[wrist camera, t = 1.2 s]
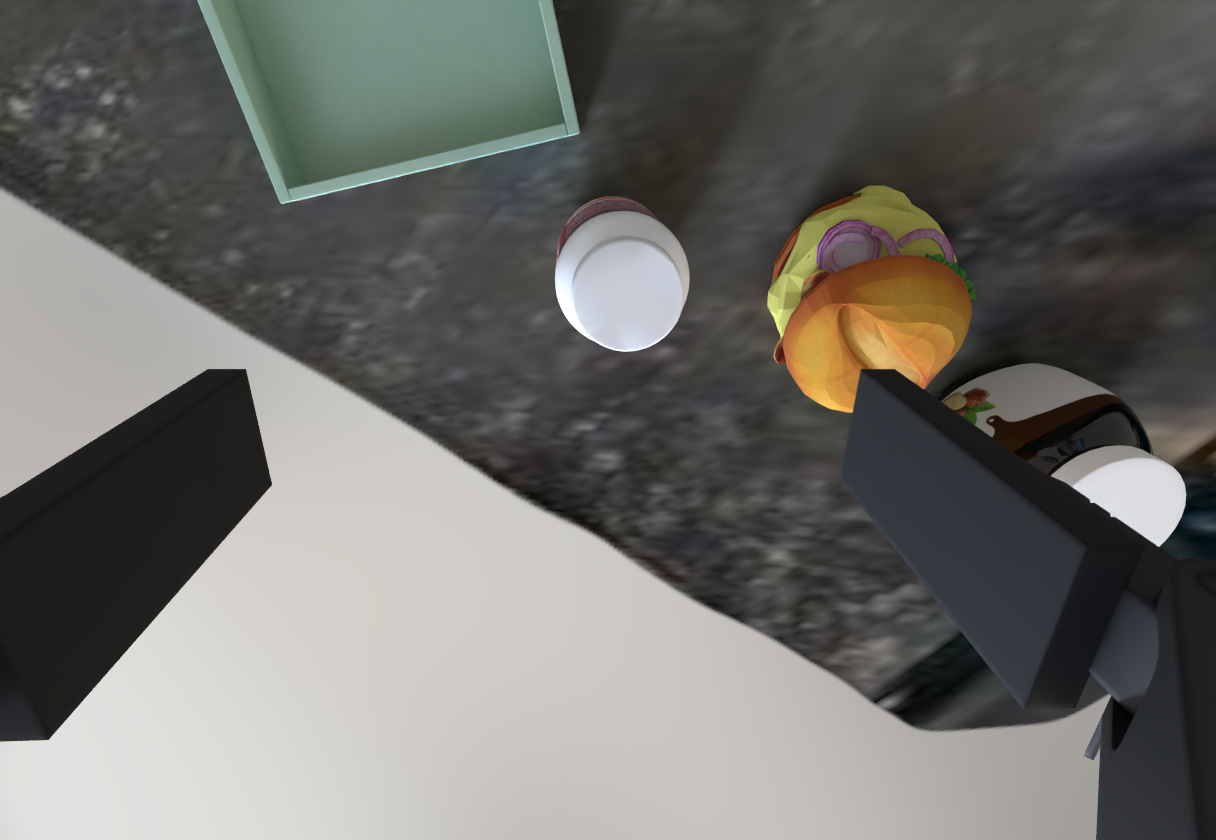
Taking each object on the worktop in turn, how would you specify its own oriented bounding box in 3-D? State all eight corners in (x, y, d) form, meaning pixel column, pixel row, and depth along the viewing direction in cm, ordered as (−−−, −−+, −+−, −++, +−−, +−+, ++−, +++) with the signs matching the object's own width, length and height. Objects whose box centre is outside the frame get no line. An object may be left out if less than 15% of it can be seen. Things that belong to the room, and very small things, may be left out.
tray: (511, -187, 28) (504, -224, 25) (579, 133, 33) (580, 132, 30) (186, -102, 28) (143, -129, 26) (304, 198, 34) (280, 204, 31)
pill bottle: (535, 236, 35) (521, 274, 25) (628, 171, 34) (652, 184, 24) (596, 326, 37) (605, 394, 27) (685, 268, 36) (729, 317, 26)
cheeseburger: (964, 198, 35) (1070, 275, 28) (876, 356, 42) (941, 455, 34) (797, 159, 34) (858, 228, 26) (732, 329, 40) (765, 425, 32)
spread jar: (1031, 333, 39) (1203, 405, 28) (1082, 465, 43) (1248, 570, 33) (857, 433, 41) (956, 535, 31) (920, 549, 45) (1027, 674, 35)
